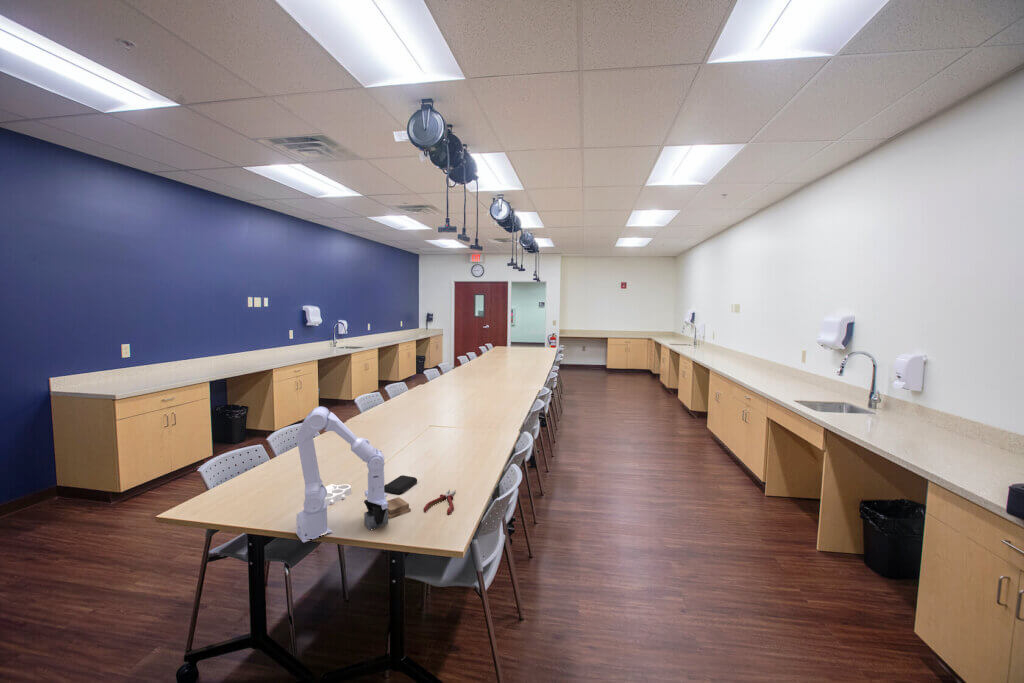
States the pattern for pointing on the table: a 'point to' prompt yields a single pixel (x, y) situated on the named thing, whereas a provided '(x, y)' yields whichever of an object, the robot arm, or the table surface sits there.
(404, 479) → the carrying case or bag
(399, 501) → the stand
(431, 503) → the pliers
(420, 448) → the table surface
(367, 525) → the block
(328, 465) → the table surface
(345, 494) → the white brass knuckles
